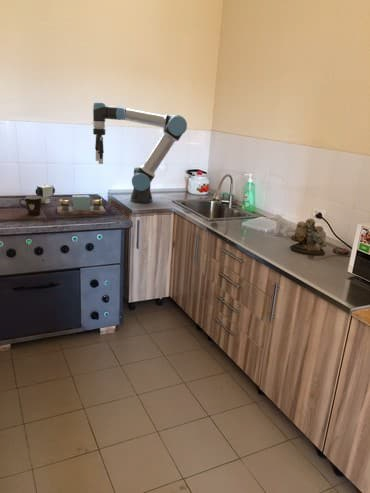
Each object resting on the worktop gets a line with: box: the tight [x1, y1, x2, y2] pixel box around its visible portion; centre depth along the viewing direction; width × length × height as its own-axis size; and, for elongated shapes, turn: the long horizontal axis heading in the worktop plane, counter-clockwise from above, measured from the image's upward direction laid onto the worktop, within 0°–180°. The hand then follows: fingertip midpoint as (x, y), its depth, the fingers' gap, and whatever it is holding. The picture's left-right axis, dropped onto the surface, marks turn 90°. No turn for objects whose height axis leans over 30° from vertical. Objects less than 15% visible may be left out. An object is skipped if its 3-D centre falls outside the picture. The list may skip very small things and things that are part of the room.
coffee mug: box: [18, 195, 42, 217], centre depth 242 cm, size 12×9×10 cm
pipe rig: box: [58, 198, 103, 210], centre depth 255 cm, size 25×4×6 cm, turn 109°
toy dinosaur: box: [265, 213, 297, 237], centre depth 235 cm, size 7×24×11 cm, turn 65°
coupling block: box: [70, 194, 91, 210], centre depth 255 cm, size 11×5×8 cm, turn 109°
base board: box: [55, 205, 107, 216], centre depth 256 cm, size 28×13×2 cm, turn 109°
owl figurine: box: [289, 217, 327, 257], centre depth 210 cm, size 18×12×17 cm, turn 78°
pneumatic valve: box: [35, 183, 56, 205], centre depth 269 cm, size 6×12×12 cm, turn 146°
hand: (99, 162), depth 272 cm, fingers open, 13 cm apart
